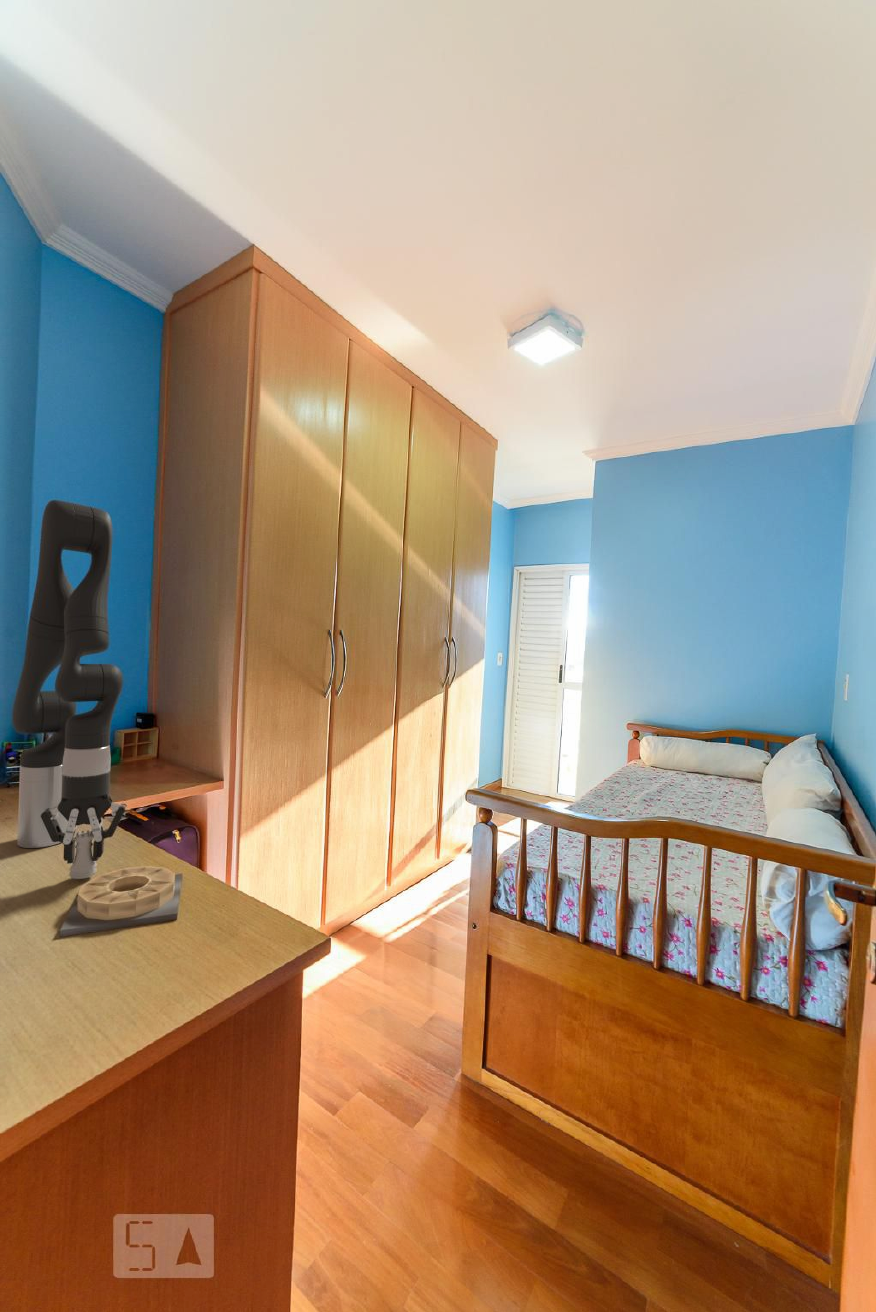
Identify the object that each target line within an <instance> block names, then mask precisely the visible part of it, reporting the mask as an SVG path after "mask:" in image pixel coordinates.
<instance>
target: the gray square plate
mask: <svg viewBox="0 0 876 1312" xmlns="http://www.w3.org/2000/svg"><path fill="white" fill-rule="evenodd" d="M182 884H183V873H175V872H173V871H171V870H169V869H168V868H166V867H162V866H161V867H160V866H150V865H143V866H142V865H141V866H132V867H124V868H120V869H116V870H113V871H109V872H106V873H102V874H99V875H98V876H96V877H94V878H92V879H90V880H88V881H87V882H85V883H83V884H82V886H81V888H80V890H79V892H78V893H77V897H76V899H75V901H74V903H73V905H72V907H71V908H70V910H69V913H68V914H67V917H66V918H65V920H64V922H63V923H62V926H61V928H60V930H59V938H60V937H66V936H67V937H68V936H74V935H75V936H76V935H80V934H87V933H95V932H100V931H108V930H115V929H121V928H128V927H135V926H141V925H142V926H143V925H147V924H148V925H149V924H155V923H162V922H169V921H174V920H178V915H179V906H180V898H181V892H182Z"/></svg>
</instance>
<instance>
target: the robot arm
mask: <svg viewBox="0 0 876 1312" xmlns="http://www.w3.org/2000/svg"><path fill="white" fill-rule="evenodd" d="M43 510H44V511H43V513H42V514H43V515H42V519H41V528H40V541H39V555H38V566H37V567H38V568H37V576H36V582H35V587H34V593H33V599H32V603H31V606H30V607H31V608H30V613H29V619H28V626H27V632H26V634H27V635H26V643H25V651H24V656H23V657H24V659H23V664H22V665H23V666H22V668H21V669H22V670H21V674H20V677H19V681H18V685H17V689H16V692H15V696H14V702H13V705H12V713H11V720H12V721H11V722H12V727H13V729H14V731H15V732H16V733H18V734H20V735H35V734H48V733H52V735H51V736H50V737H49V738H48V739H47V740H45V741H44V742H42V743H40V744H37V745H36V746H33V747H30V748H28V749H27V748H26V749H25V750H24V751H22V752H21V754H20V757H19V784H18V785H19V787H18V789H19V790H18V792H19V793H18V817H17V819H18V820H17V844H16V845H17V846H18V847H21V848H24V849H35V848H36V849H37V848H38V849H39V848H46V847H49V846H55V845H57V844H63V860H64V861H65V862H67V863H66V864H67V865H68V864H72V863H73V862H74V860H75V855H76V848H75V846H76V841H75V840H74V838H75V835H76V831H77V828H78V826H82V825H87V826H88V825H89V826H90V829H91V831H93V835H94V838H93V839H94V841H93V842H92V843H93V845H92V847H93V848H92V856H93V861H95V862H97V861H98V860H99V859H100V858H101V857H102V855H103V854H104V849H105V848H104V844H105V839H108V838H112V837H113V836H114V833H115V831H116V830H117V828H118V826H119V824H120V822H121V820H122V818H123V815H124V813H125V811H126V809H127V807H128V806H127V804H126V803H121V804H119V803H116V802H113V799H112V798H111V796H110V787H111V764H112V763H111V761H112V759H111V757H112V756H111V746H110V745H111V727H112V726H111V724H112V720H113V716H114V713H115V709H116V706H117V703H118V700H119V698H120V696H121V693H122V691H123V687H124V676H123V675H124V674H123V673H122V671H121V669H120V668H119V667H118V666H116V665H115V664H110V663H80V661H81V658H83V657H84V656H90V655H96V654H101V653H103V652H106V651H107V650H108V649H109V646H110V632H109V631H110V630H109V629H110V628H109V617H108V614H109V613H108V599H109V598H108V597H109V596H108V594H109V586H110V575H111V566H112V551H113V538H114V536H113V534H114V533H113V532H114V530H113V522H112V518H111V516H110V514H109V512H107V511H106V510H103V509H100V508H96V507H93V506H89V505H83V504H79V503H74V502H70V501H64V500H59V499H51V500H49V502H48V503H47V504H46V506H45V508H44V509H43ZM64 550H66V551H71V552H78V553H82V554H83V553H85V554H90V557H91V558H90V559H91V560H90V565H89V569H88V571H87V573H86V574H85V575H84V578H83V579H82V580H81V581H80V582H79V584H78V585H77V587H76V588H75V589H74V588H73V586H72V585H71V582H70V581H69V579H68V577H67V574H66V572H65V570H64V567H63V562H62V561H63V560H62V555H63V551H64ZM57 667H59V668H58V672H57V673H56V677H55V681H54V690H42V688H43V686H44V684H45V683H46V680H47V679H48V677H50V675H51V674H52V672H54V670H55V669H57ZM80 702H84V703H85V702H97V703H96V705H94V707H93V708H92V709H91V710H88V711H86V712H81V713H79V714H77V703H80ZM109 809H110V810H111V815H112V816H113V819H112V820H111V822H110V825H109V827H108V828H106V829H104V821H103V817H104V816H105V814H106V813H107V812H108V811H109Z"/></svg>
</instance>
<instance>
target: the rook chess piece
mask: <svg viewBox="0 0 876 1312" xmlns="http://www.w3.org/2000/svg"><path fill="white" fill-rule="evenodd" d="M75 835H76V836H74V840H75V843H76V844H75V858H74V861H73V863H71V865H70V866H69V873H68V876H69V877H70V878H71V879H74V880H81V879H82V880H83V879H87V878H90V877H92V876H94V875H95V874H96V873H97V872H98V869H97V866H98V864H97V861H93V848H92V847H93V842H92V841H93V839H94V834H93V831H92V830H89V829H87V830H86V831H85V830H81V831H77V832H76V833H75Z"/></svg>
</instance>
